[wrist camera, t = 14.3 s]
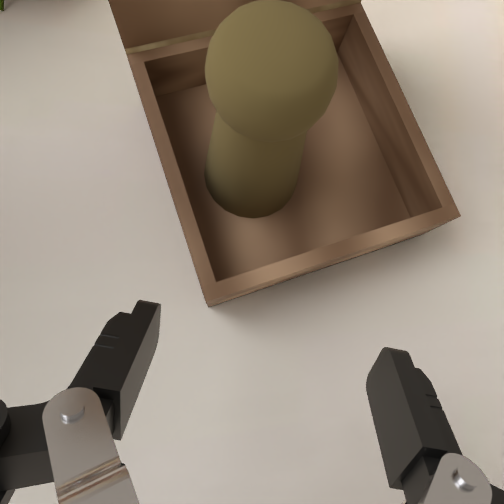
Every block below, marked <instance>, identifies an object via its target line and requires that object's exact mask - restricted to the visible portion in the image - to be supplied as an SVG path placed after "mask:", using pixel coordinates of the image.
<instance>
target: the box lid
mask: <svg viewBox="0 0 504 504" xmlns="http://www.w3.org/2000/svg"><path fill="white" fill-rule="evenodd" d="M108 1H109V4H110V7H111V10H112V12H113V15H114V18H115V21H116V24H117V27H118V30H119V33H120V36H121V39H122V42H123V45H124V48H125V51H126V54H132V53H136V52H141V51H145V50H150V49H154V48H159V47H164V46H168V45H173V44H177V43H182V42H186V41H191V40H195V39H200V38H204V37H209V36H213V35H214V33H215V31H216V30H217V28H218V26H219V24H220V23H221V22H222V21H223V20H224V19H225V18H226V17H227V16H229V15H230V14H231V13H232V12H233V11H235V10H236V9H237V8H238V7H240V6H243V5H245V4H248V3H250V2H253V1H257V0H108ZM281 1H287V2H292V3H294V4H296V5H298V6H300V7H303V8H305V9H307V10H308V11H310V12H311V13H317V12H321V11H326V10H330V9H335V8H339V7H344V6H348V5H353V4H357V3H361V0H281Z"/></svg>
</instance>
